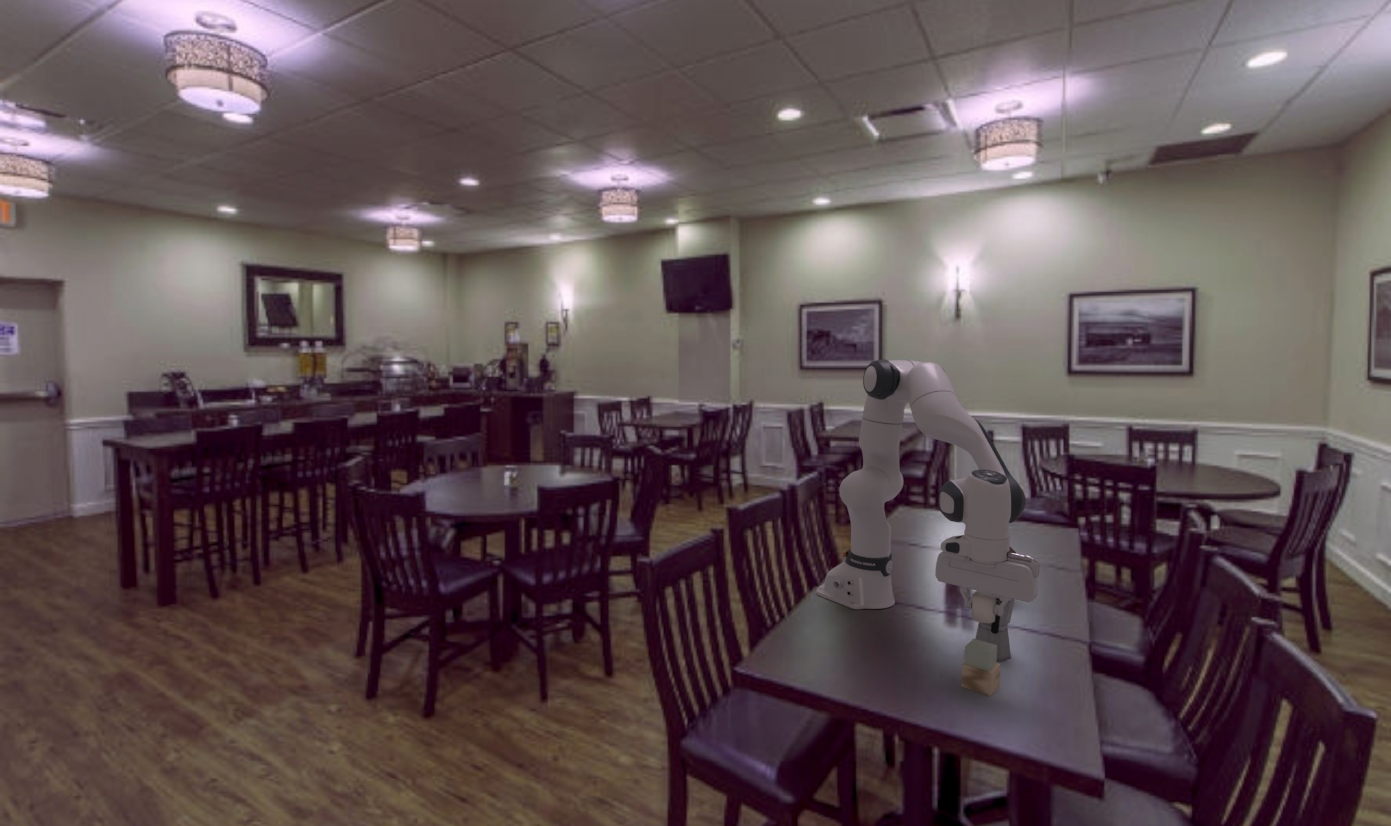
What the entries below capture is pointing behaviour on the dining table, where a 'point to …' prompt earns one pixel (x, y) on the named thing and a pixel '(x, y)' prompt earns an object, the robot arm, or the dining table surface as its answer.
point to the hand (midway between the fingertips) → (983, 610)
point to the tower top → (980, 654)
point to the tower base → (981, 679)
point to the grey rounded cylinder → (983, 607)
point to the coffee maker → (997, 630)
